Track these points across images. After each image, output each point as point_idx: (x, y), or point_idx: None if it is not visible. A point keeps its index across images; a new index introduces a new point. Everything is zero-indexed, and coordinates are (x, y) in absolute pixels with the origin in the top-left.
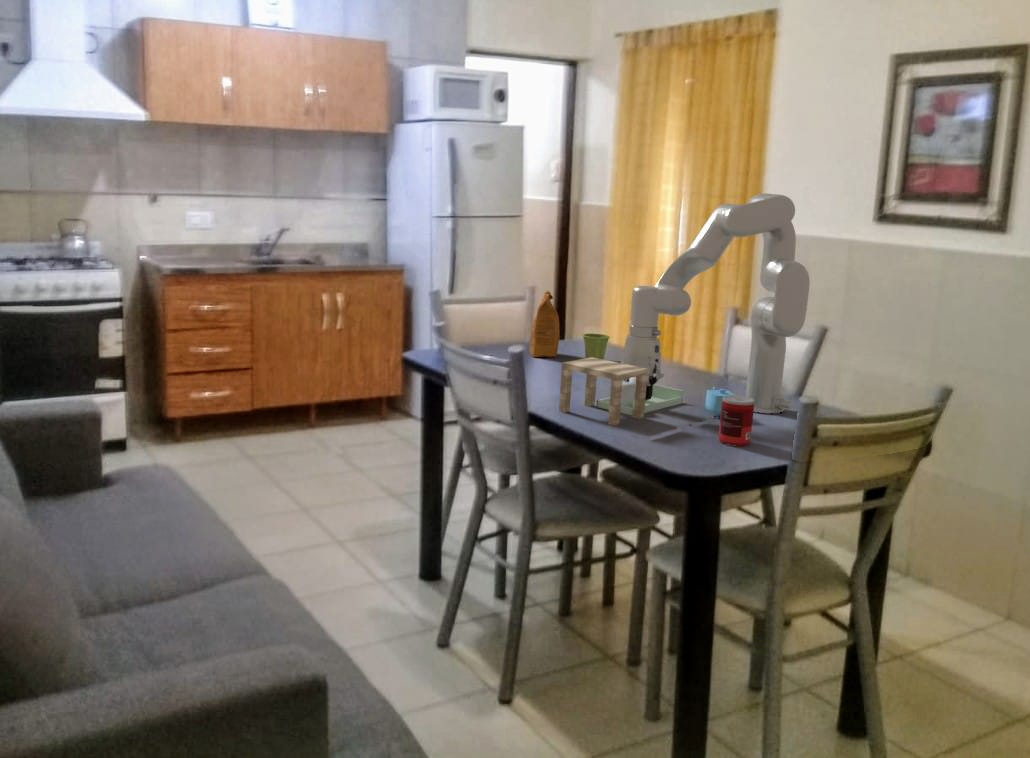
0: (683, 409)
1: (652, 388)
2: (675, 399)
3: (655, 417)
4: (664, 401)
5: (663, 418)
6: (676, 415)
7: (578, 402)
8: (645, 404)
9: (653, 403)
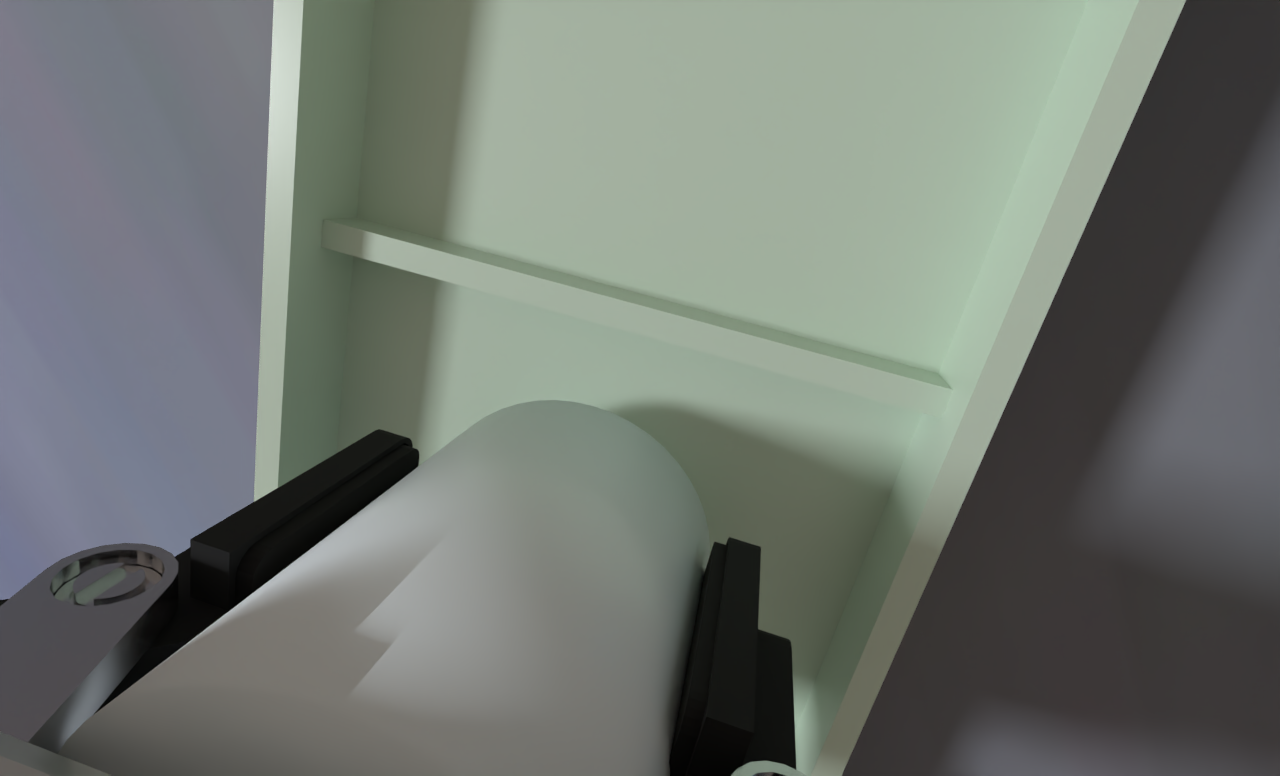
0: (1249, 47)
1: (793, 757)
2: (1158, 42)
3: (926, 743)
4: (987, 440)
5: (1031, 744)
6: (1181, 520)
7: (53, 558)
8: (652, 383)
9: (855, 681)
